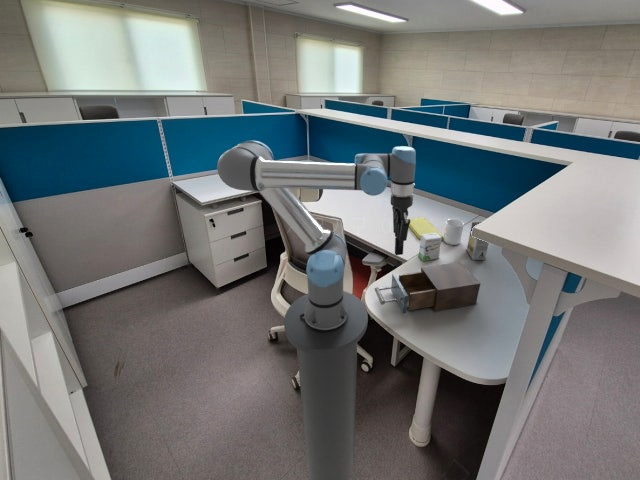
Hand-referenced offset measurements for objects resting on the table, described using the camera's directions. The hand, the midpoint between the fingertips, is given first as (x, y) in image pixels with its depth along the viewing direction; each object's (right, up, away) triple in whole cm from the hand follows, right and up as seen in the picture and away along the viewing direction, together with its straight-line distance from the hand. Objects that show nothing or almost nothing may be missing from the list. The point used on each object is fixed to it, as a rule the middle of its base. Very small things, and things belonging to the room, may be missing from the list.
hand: (398, 253), depth 111 cm
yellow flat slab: (+19, +5, +59) cm, 62 cm away
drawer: (+4, -18, +5) cm, 19 cm away
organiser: (+20, -18, +9) cm, 28 cm away
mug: (+32, +1, +50) cm, 60 cm away
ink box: (+17, -6, +34) cm, 39 cm away
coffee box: (+41, -6, +38) cm, 56 cm away
